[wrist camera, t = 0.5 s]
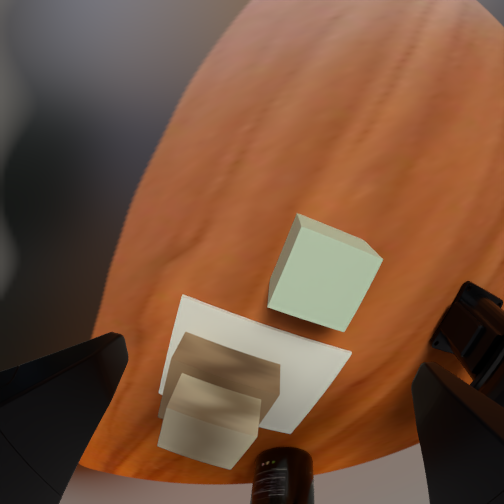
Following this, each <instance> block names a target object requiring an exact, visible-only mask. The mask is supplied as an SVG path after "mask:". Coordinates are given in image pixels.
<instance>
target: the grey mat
mask: <svg viewBox="0 0 504 504" xmlns="http://www.w3.org/2000/svg"><path fill="white" fill-rule="evenodd" d="M185 332H188V333H191V334H193V335H196V336H199V337H201V338H204V339H206V340H209V341H212V342H214V343H217V344H220V345H223V346H226V347H228V348H231V349H234V350H237V351H240V352H243V353H246V354H249V355H252V356H255V357H258V358H261V359H264V360H267V361H271V362H274V363H277V364H280V395H279V397H278V398H277V400H276V401H275V403H274V404H273V406H272V407H271V409H270V410H269V411H268V413H267V414H266V416H265V417H264V419H263V420H262V421H261V423H260V424H259V427H261V428H265V429H269V430H273V431H278V432H282V433H287V434H291V433H292V432H293V431H294V429H295V428H296V427H297V426H298V425H299V424H300V422H301V421H302V420H303V419H304V418H305V416H306V415H307V414H308V413H309V411H310V410H311V409H312V408H313V406H314V405H315V404H316V403H317V401H318V400H319V399H320V397H321V396H322V395H323V394H324V392H325V391H326V390H327V388H328V387H329V386H330V384H331V383H332V381H333V380H334V379H335V377H336V376H337V375H338V373H339V372H340V370H341V369H342V367H343V366H344V365H345V363H346V362H347V360H348V359H349V357H350V356H351V354H352V352H351V351H348V350H345V349H341V348H338V347H334V346H331V345H328V344H324V343H321V342H318V341H314V340H311V339H308V338H305V337H301V336H298V335H295V334H292V333H289V332H286V331H283V330H280V329H277V328H274V327H271V326H268V325H265V324H262V323H259V322H256V321H253V320H251V319H248V318H245V317H242V316H239V315H237V314H234V313H231V312H228V311H226V310H223V309H220V308H218V307H215V306H212V305H210V304H207V303H204V302H202V301H199V300H197V299H194V298H192V297H189V296H187V295H184V294H183V295H182V298H181V301H180V305H179V309H178V313H177V317H176V321H175V324H174V328H173V332H172V336H171V341H170V345H169V349H168V353H167V357H166V362H165V366H164V370H163V375H162V379H161V384H160V389H159V394H162V395H163V391H164V386H165V382H166V378H167V374H168V369H169V365H170V361H171V358H172V356H173V354H174V352H175V350H176V348H177V346H178V345H179V343H180V341H181V339H182V337H183V335H184V333H185Z"/></svg>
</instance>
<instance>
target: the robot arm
mask: <svg viewBox="0 0 504 504" xmlns="http://www.w3.org/2000/svg"><path fill="white" fill-rule="evenodd" d="M468 286H469V287H468ZM467 288H468V289H467ZM502 305H503V301H502V300H501V299H500V298H498V297H497V296H495V295H493V294H491V293H490V292H488V291H486V290H485V289H483V288H481V287H479V286H477V285H476V284H474V283H472V282H470V281H466V282H465V283H464V285H463V287H462V289H461V291H460V292H459V294H458V296H457V298H456V300H455V302H454V303H453V305H452V307H451V309H450V310H449V312H448V314H447V315H446V317H445V319H444V320H443V322H442V324H441V325H440V327H439V328H438V330H437V332H436V333H435V335H434V336H433V338H432V339H431V341H430V345H431V346H432V347H433V348H435V349H439V350H442V351H446V352H450V353H453V354H455V355H456V357H457V358H458V359H459V361H460V362H461V364H462V365H463V366H464V368H465V369H466V371H467V372H468V374H469V375H470V377H471V378H472V380H473V382H472V383H471V384H470V385H468V384H467V383H465V382H464V381H462V380H461V379H459V378H458V377H456V376H455V375H453V374H452V373H450V372H449V371H447V370H446V369H444V368H443V367H441V366H440V365H438V364H437V363H435V362H424V363H422V364H421V365H420V367H419V369H418V372H417V374H416V376H415V378H414V380H413V382H412V387H411V390H412V397H413V403H414V410H415V418H416V426H417V432H418V437H419V441H420V446H421V451H422V455H423V461H424V467H425V472H426V478H427V485H428V492H429V499H430V504H504V311H503V310H502V309H501V307H502ZM435 342H436V343H435ZM127 363H128V352H127V348H126V343H125V339H124V337H123V335H121V334H118V333H114V332H110V333H107V334H104V335H102V336H99V337H96V338H94V339H91V340H89V341H86V342H83V343H80V344H78V345H75V346H72V347H69V348H67V349H64V350H61V351H59V352H56V353H53V354H50V355H47V356H44V357H42V358H39V359H36V360H33V361H30V362H28V363H25V364H22V365H20V366H16V367H13V368H10V369H7V370H4V371H1V372H0V504H59V502H60V500H61V498H62V495H63V493H64V491H65V489H66V487H67V485H68V482H69V481H70V479H71V476H72V475H73V473H74V471H75V468H76V466H77V464H78V463H79V461H80V459H81V457H82V455H83V453H84V451H85V449H86V447H87V445H88V443H89V441H90V439H91V437H92V435H93V434H94V432H95V430H96V428H97V426H98V424H99V422H100V420H101V419H102V417H103V415H104V413H105V411H106V409H107V408H108V406H109V404H110V402H111V400H112V398H113V396H114V394H115V391H116V389H117V386H118V384H119V382H120V379H121V377H122V375H123V372H124V370H125V368H126V365H127Z"/></svg>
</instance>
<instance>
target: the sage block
mask: <svg viewBox="0 0 504 504" xmlns="http://www.w3.org/2000/svg"><path fill="white" fill-rule="evenodd" d="M382 261H383V259H382V258H381V257H380V256H379V255H378V254H377V253H376V252H375V251H374V250H373V249H372V248H371V247H370V246H369V245H368V244H367V243H366V242H365V241H364V240H362V239H360V238H357V237H355V236H353V235H350V234H348V233H345V232H343V231H341V230H338V229H336V228H333V227H331V226H328V225H326V224H323V223H321V222H318V221H316V220H313V219H311V218H308V217H306V216H303V215H301V214H298V213H297V214H296V217H295V219H294V222H293V224H292V227H291V229H290V232H289V234H288V237H287V239H286V242H285V244H284V247H283V249H282V251H281V254H280V256H279V259H278V261H277V264H276V266H275V269H274V271H273V273H272V276H271V278H270V283H269V294H268V305H267V307H268V308H271V309H274V310H277V311H280V312H283V313H286V314H289V315H292V316H295V317H298V318H301V319H304V320H307V321H310V322H313V323H316V324H319V325H322V326H326V327H329V328H332V329H335V330H338V331H342V332H344V331H345V330H346V328H347V326H348V325H349V323H350V321H351V320H352V318H353V316H354V314H355V312H356V311H357V309H358V307H359V305H360V303H361V302H362V300H363V298H364V296H365V294H366V292H367V290H368V289H369V287H370V285H371V283H372V281H373V279H374V277H375V275H376V273H377V271H378V269H379V267H380V265H381V263H382Z"/></svg>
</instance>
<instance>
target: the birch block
mask: <svg viewBox="0 0 504 504" xmlns="http://www.w3.org/2000/svg"><path fill="white" fill-rule="evenodd" d="M260 409H261V399H258V398H254V397H251V396H247V395H244V394H241V393H238V392H234V391H231V390H228V389H225V388H222V387H219V386H216V385H213V384H210V383H208V382H205V381H202V380H199V379H197V378H194V377H191V376H189V375H186V374H184V373H182V374H181V376H180V378H179V381H178V383H177V385H176V387H175V390H174V392H173V394H172V396H171V399H170V401H169V403H168V405H167V408H166V412H165V416H164V420H163V424H162V428H161V432H160V436H159V440H158V445H157V446H158V447H161V448H163V449H166V450H169V451H171V452H174V453H177V454H180V455H183V456H185V457H188V458H191V459H194V460H198V461H201V462H204V463H207V464H211V465H214V466H218V467H222V468H226V469H229V470H231V469H232V468H233V466H234V465H235V464H236V463H237V462H238V460H239V459H240V458H241V457H242V456H243V454H244V453H245V452H246V451H247V449H248V448H249V447H250V446H251V444H252V443H253V442H254V441H255V439H256V438H257V437H258V427H259V418H260Z"/></svg>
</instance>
